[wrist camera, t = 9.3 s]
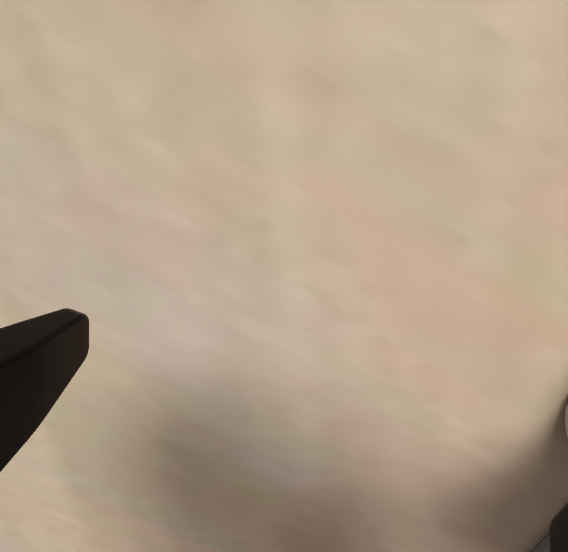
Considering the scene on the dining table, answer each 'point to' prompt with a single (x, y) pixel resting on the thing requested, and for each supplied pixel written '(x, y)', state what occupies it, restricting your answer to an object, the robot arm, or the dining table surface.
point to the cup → (566, 420)
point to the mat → (543, 545)
